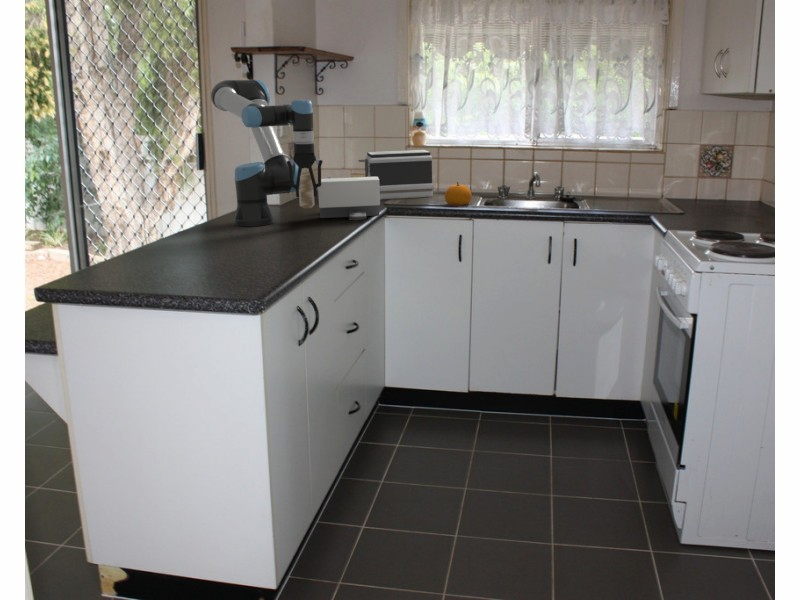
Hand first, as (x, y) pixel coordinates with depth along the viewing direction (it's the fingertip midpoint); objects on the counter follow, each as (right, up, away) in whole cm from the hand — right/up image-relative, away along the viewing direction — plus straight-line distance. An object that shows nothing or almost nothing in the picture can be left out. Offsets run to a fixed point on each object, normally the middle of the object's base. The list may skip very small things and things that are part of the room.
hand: (307, 205), depth 285 cm
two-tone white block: (+15, -3, +17) cm, 23 cm away
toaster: (+33, +14, +78) cm, 86 cm away
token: (+18, -3, +16) cm, 24 cm away
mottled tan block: (-1, +1, +6) cm, 6 cm away
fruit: (+61, +6, +44) cm, 75 cm away
